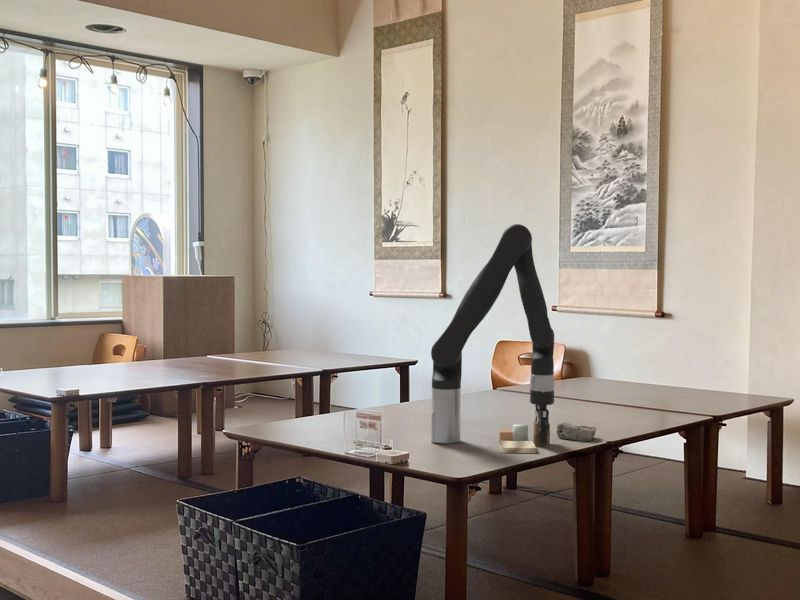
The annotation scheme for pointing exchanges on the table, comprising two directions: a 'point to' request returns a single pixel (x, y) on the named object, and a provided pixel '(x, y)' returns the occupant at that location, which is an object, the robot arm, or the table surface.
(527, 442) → the board
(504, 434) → the ochre cube
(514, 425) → the grey-green square block
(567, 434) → the stone
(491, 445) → the table surface
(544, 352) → the robot arm
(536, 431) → the walnut block
